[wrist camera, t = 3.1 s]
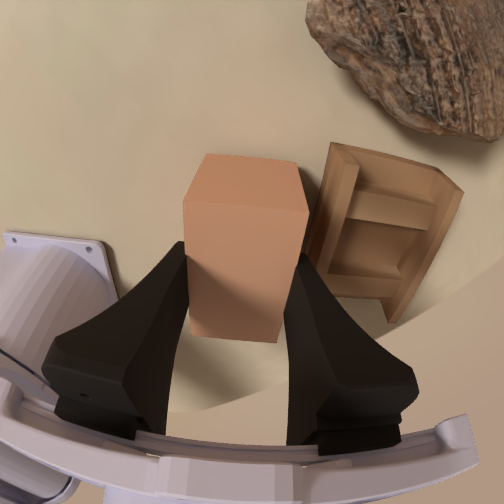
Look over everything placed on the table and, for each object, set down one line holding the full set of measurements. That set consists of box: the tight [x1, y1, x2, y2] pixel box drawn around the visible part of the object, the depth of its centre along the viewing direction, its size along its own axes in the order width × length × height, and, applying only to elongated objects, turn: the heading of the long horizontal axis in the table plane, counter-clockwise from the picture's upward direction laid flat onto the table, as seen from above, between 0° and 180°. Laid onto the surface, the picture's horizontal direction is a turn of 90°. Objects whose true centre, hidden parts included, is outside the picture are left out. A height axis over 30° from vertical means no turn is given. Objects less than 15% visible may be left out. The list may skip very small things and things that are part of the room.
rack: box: [304, 142, 464, 323], centre depth 15 cm, size 9×6×3 cm
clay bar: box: [183, 154, 309, 343], centre depth 13 cm, size 7×4×4 cm, turn 174°
